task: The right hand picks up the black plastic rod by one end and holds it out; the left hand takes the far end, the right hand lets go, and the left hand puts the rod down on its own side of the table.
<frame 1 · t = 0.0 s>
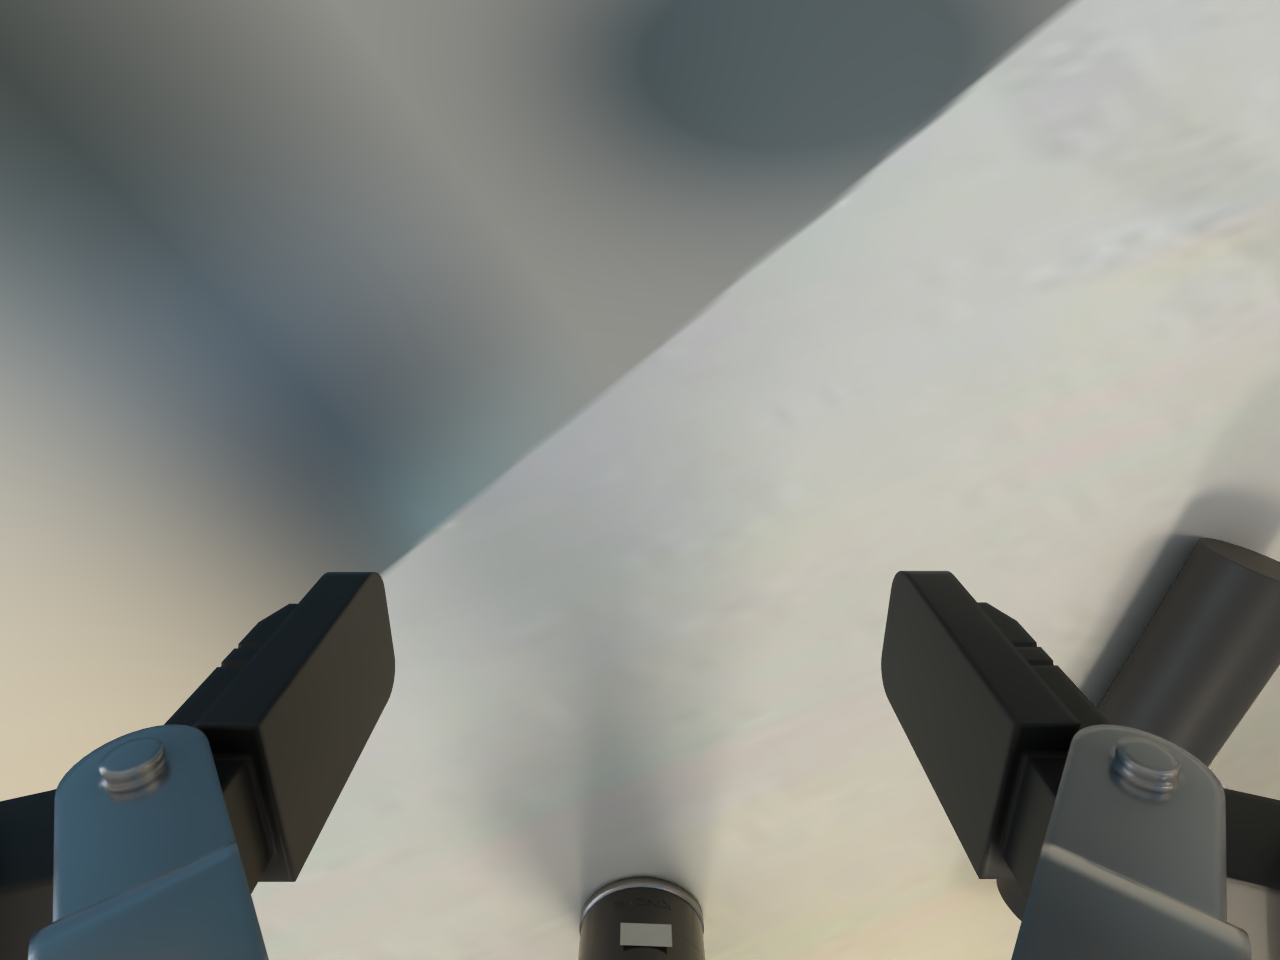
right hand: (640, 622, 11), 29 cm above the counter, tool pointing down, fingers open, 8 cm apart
rod: (1110, 719, 48), on the counter
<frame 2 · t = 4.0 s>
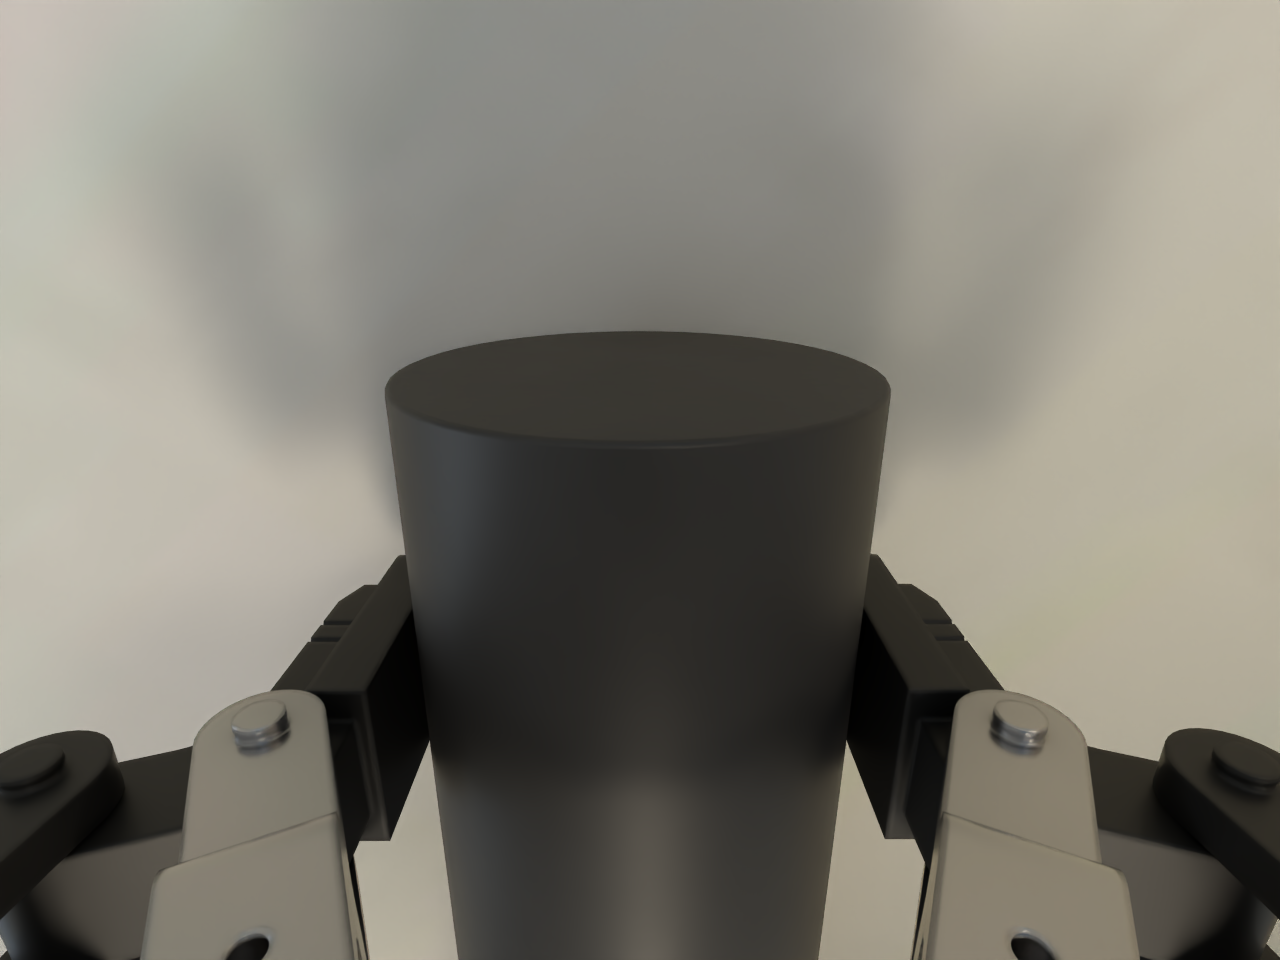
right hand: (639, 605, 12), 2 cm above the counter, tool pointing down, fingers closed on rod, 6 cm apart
rod: (638, 923, 17), on the counter, touching right hand
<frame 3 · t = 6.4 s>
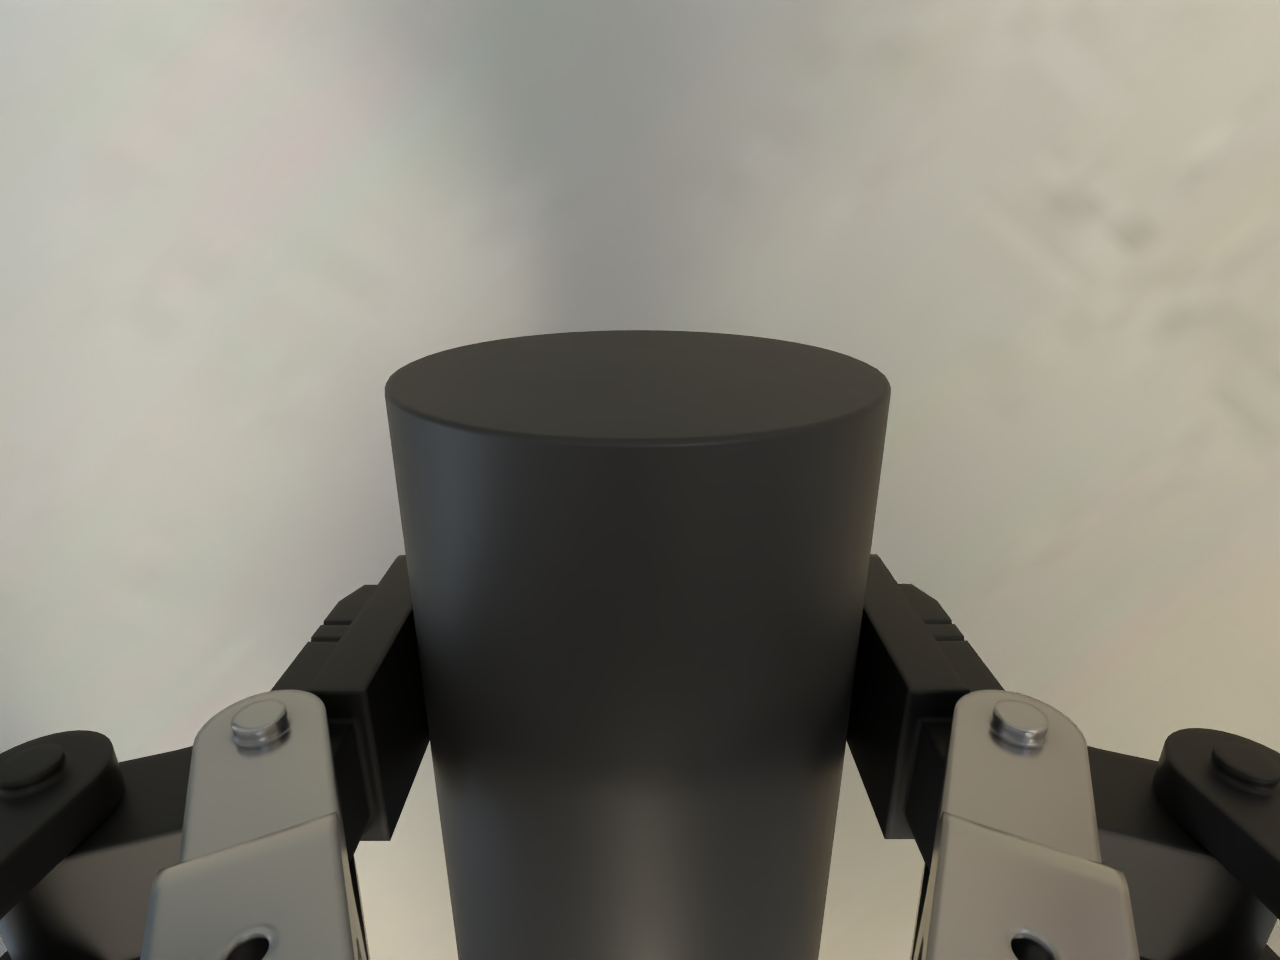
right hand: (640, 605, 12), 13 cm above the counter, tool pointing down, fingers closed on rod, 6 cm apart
rod: (638, 922, 17), point 11 cm above the counter, touching right hand
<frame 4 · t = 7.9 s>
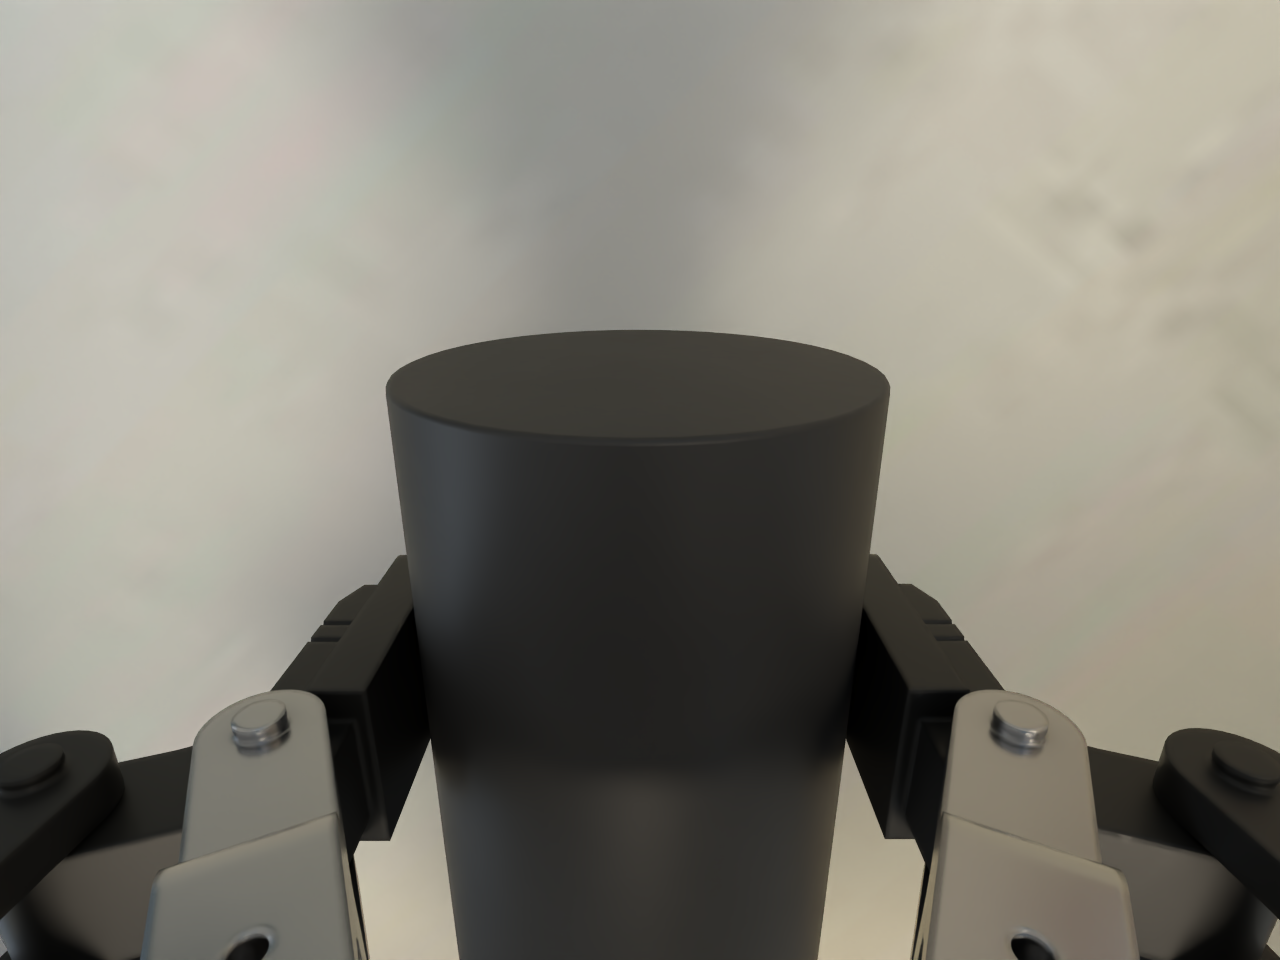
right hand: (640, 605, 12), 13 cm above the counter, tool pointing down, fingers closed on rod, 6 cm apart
rod: (639, 921, 17), point 11 cm above the counter, touching right hand, left hand
when the right hand's fingers open (13 cm above the counter, at t = 9.2 s): rod stays where it is, held by the left hand.
when the left hand's fingers open (4 cm above the counter, at t = 15.4 s): rod stays where it is, on the counter.
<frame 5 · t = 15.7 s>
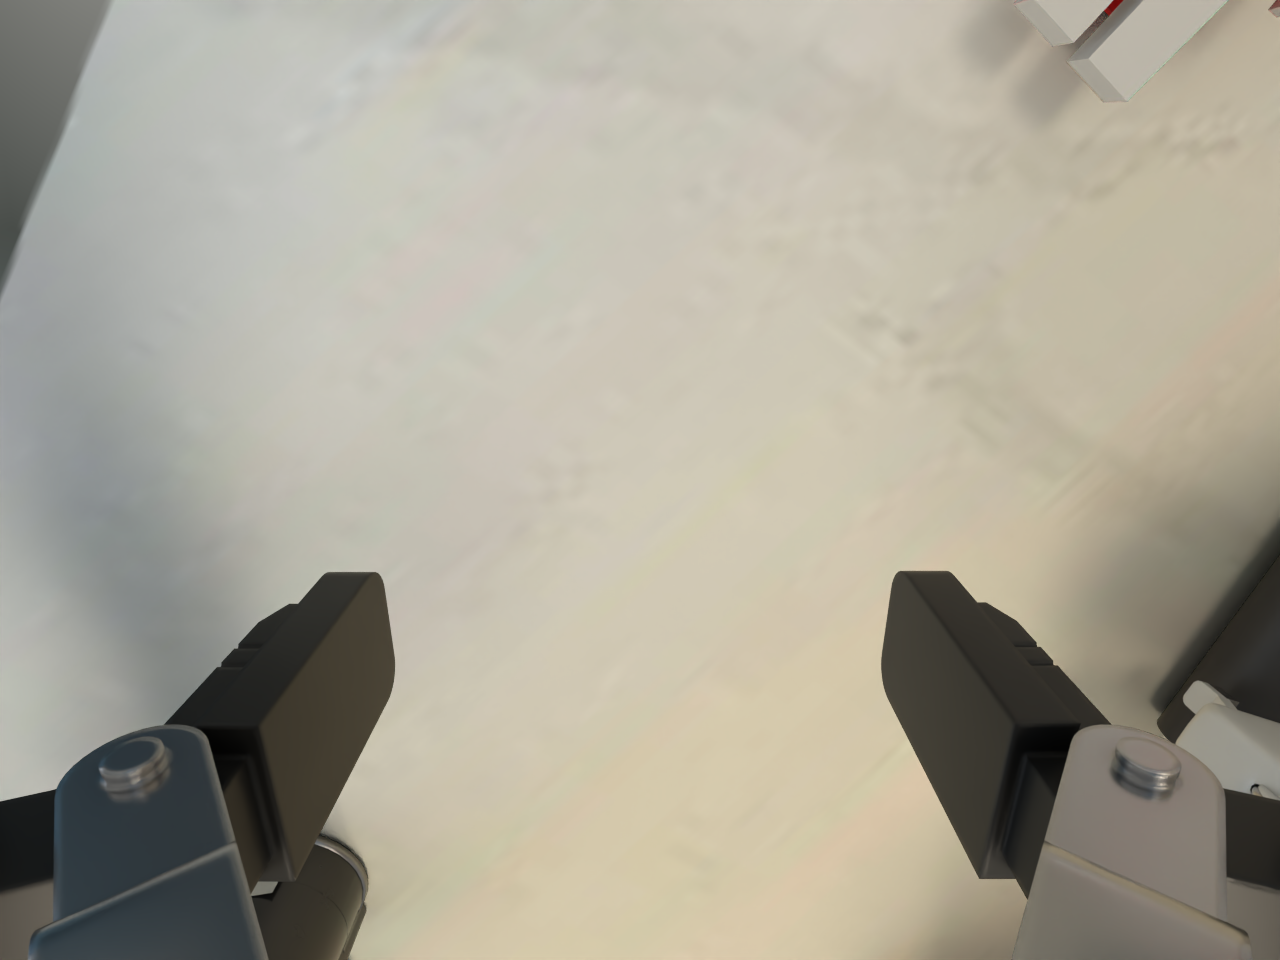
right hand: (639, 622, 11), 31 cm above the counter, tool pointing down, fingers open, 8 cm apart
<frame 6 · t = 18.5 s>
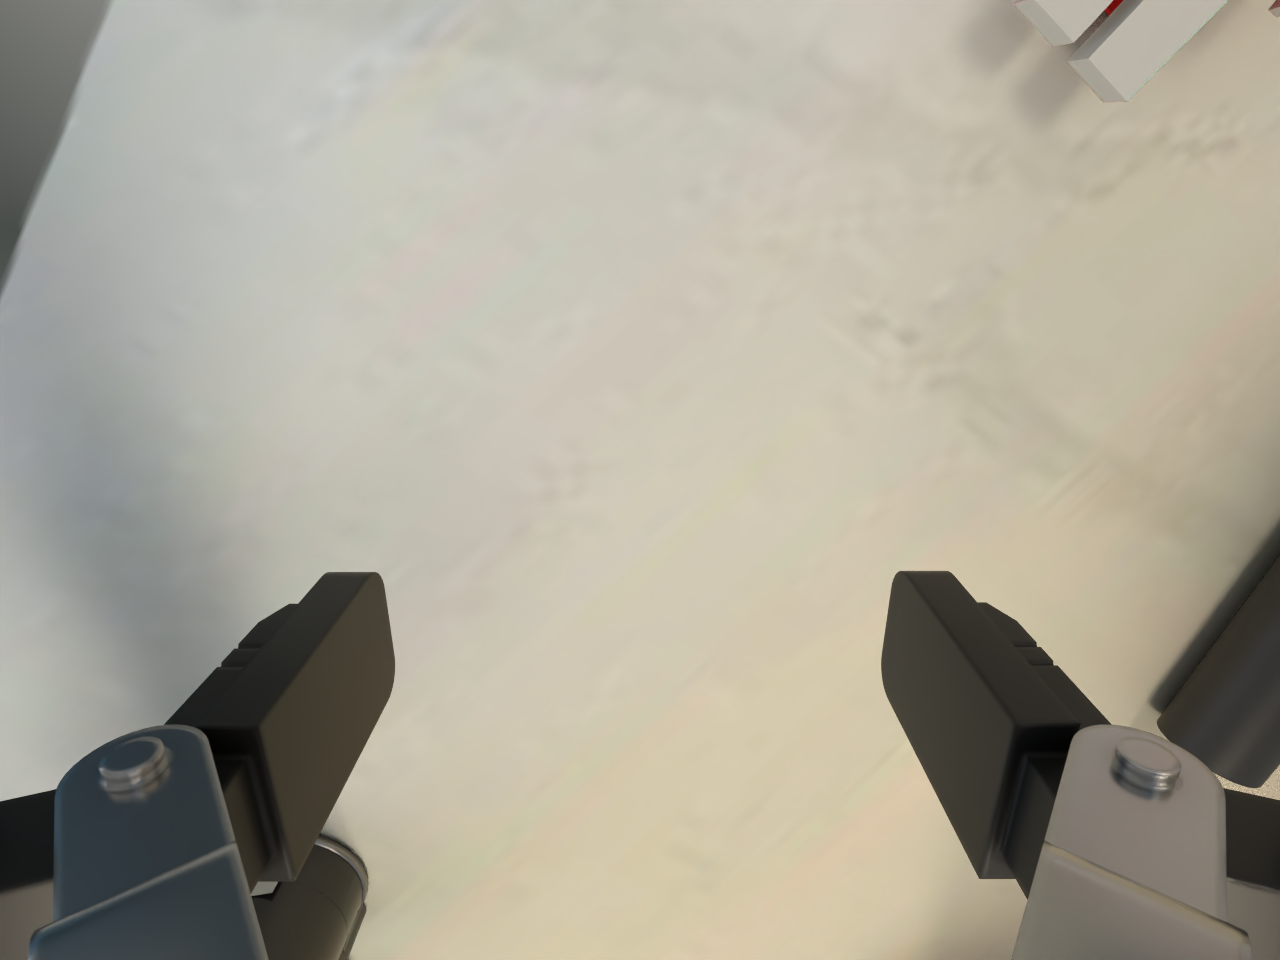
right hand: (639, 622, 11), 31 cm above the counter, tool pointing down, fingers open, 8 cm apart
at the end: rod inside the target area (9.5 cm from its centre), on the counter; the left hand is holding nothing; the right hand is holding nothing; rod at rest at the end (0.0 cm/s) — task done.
